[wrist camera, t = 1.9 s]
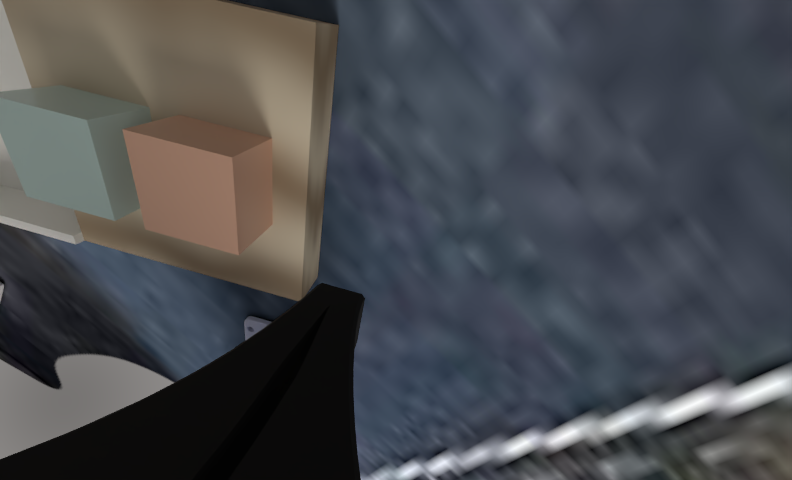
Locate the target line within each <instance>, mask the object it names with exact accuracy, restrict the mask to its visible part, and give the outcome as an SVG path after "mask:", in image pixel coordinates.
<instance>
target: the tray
mask: <svg viewBox="0 0 792 480" xmlns="http://www.w3.org/2000/svg"><path fill="white" fill-rule="evenodd" d="M29 88H31V85H30V82H29V79H28V76H27V73H26V70H25V67H24V64H23V61H22V59H21V56H20V53H19V50H18V47H17V44H16V41H15V38H14V35H13V33H12V30H11V27H10V24H9V21H8V18H7V15H6V12H5V9H4V7H3V4H2V1H1V0H0V92H2V91H11V90H20V89H29ZM0 223H3V224H7V225H10V226H14V227H17V228H21V229H24V230H28V231H31V232H35V233H38V234H42V235H45V236H49V237H52V238H56V239H59V240H63V241H66V242H70V243H73V244H78V243H80V242H82V241H84V238H83V235H82V232H81V229H80V226H79V223H78V221H77V218H76V215H75V212H74V209H70V208H67V207H63V206H59V205H56V204H52V203H49V202H45V201H41V200H38V199H34V198H31V197H27V196H26V194H25V191H24V189H23V187H22V184H21V182H20V180H19V177H18V175H17V172H16V170H15V168H14V165H13V163H12V160H11V158H10V156H9V153H8V151H7V148H6V146H5V144H4V141H3V139H2V136H1V134H0Z"/></svg>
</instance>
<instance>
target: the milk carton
mask: <svg viewBox="0 0 792 480" xmlns="http://www.w3.org/2000/svg"><path fill="white" fill-rule="evenodd" d="M3 289H4V284H3V283H1V282H0V301H1V297H2V293H3Z"/></svg>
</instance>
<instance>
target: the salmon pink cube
mask: <svg viewBox="0 0 792 480" xmlns="http://www.w3.org/2000/svg"><path fill="white" fill-rule="evenodd" d="M122 130H123V135H124V139H125V143H126V148H127V152H128V156H129V161H130V165H131V169H132V174H133V178H134V182H135V187H136V191H137V195H138V200H139V204H140V208H141V213H142V217H143V221H144V226H145V229H146V230H149V231H153V232H156V233H160V234H163V235H167V236H171V237H174V238H178V239H181V240H185V241H189V242H192V243H196V244H199V245H203V246H207V247H210V248H214V249H217V250H221V251H224V252H228V253H232V254H235V255H240V254H241V253H242V252H243V251H244V250H245V249H246V248H248V247H249V246H250V245H251V244H252V243H253V242H254V241H255V240H256V239H257V238H258V237H260V236H261V235H262V234H263V233H264V232H265V231H266V230H267V229H268V228H269V227H270V226H272V225H273V200H272V138H270V137H266V136H262V135H258V134H254V133H250V132H246V131H242V130H238V129H234V128H230V127H226V126H222V125H218V124H214V123H210V122H206V121H202V120H198V119H194V118H190V117H186V116H182V115H176V116H173V117H169V118H165V119H161V120H157V121H153V122H149V123H145V124H141V125H137V126H133V127H129V128H125V129H122Z"/></svg>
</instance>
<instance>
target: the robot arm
mask: <svg viewBox="0 0 792 480" xmlns="http://www.w3.org/2000/svg"><path fill="white" fill-rule="evenodd" d="M364 301H365V298H364V296H363V295H362V294H359V293H356V292H352V291H349V290H345V289H341V288H338V287H334V286H331V285H327V284H324V283H321V284H319V285H317V286H316V287H315V288H314V289H313V290H312V291H311V292H309V293H308V294H307V295H306V296H305V297H303V298H302V299H301V300H300V301H299V302H297V303H296V304H295V305H294V306H292V307H291V308H290V309H288V310H287V311H286V312H285V313H283V314H282V315H281V316H279V317H278V318H277V319H275V320H274V321H273V322H271V321H267V320H264V319H260V318H257V317H253V316H248V317H247V318H246V319H245V321H244V327H245V341H244V342H243V343H241V344H240V345H238V346H237V347H235V348H234V349H232V350H231V351H229V352H227V353H226V354H224V355H223V356H221V357H219V358H218V359H216V360H214V361H213V362H211V363H209V364H208V365H206V366H204V367H202V368H201V369H199V370H197V371H196V372H194V373H192V374H190V375H188V376H186V377H185V378H183V379H181V380H179V381H177V382H175V383H173V384H171V385H170V386H168V387H166V388H164V389H162V390H160V391H158V392H156V393H154V394H152V395H150V396H148V397H146V398H144V399H142V400H140V401H138V402H136V403H134V404H131V405H129V406H127V407H125V408H122V409H120V410H118V411H116V412H114V413H111V414H109V415H107V416H105V417H103V418H100V419H98V420H96V421H94V422H92V423H90V424H87V425H85V426H83V427H80V428H78V429H76V430H73V431H71V432H69V433H66V434H64V435H61V436H59V437H56V438H54V439H51V440H48V441H46V442H43V443H41V444H38V445H36V446H33V447H31V448H28V449H26V450H23V451H21V452H18V453H15V454H13V455H11V456H8V457H5V458H3V459H0V480H361V479H360V471H359V463H358V455H357V444H356V432H355V418H354V397H353V364H354V349H355V346H356V343H357V339H358V333H359V328H360V322H361V317H362V311H363V306H364Z"/></svg>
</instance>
